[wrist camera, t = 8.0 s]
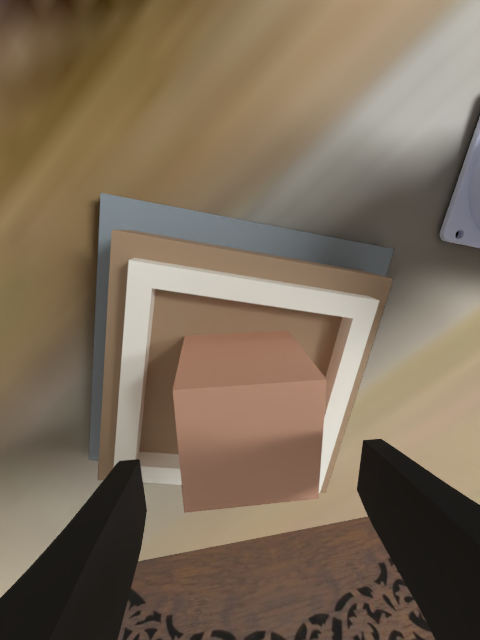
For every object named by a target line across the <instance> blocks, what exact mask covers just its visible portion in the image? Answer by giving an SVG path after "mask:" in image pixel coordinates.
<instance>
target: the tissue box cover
mask: <svg viewBox="0 0 480 640" xmlns="http://www.w3.org/2000/svg"><path fill="white" fill-rule="evenodd" d="M118 640H435V638H434V636H433V634H432V632H431V630H430V628H429V626H428V624H427V622H426V620H425V618H424V616H423V615H422V613H421V611H420V609H419V607H418V605H417V604H416V602H415V600H414V598H413V596H412V595H411V593H410V591H409V589H408V588H407V586H406V584H405V582H404V581H403V579H402V577H401V575H400V574H399V572H398V570H397V568H396V566H395V565H394V563H393V561H392V559H391V558H390V556H389V554H388V552H387V551H386V549H385V547H384V545H383V543H382V542H381V540H380V538H379V536H378V534H377V533H376V531H375V529H374V527H373V525H372V523H371V521H370V519H369V517H364V518H359V519H354V520H349V521H344V522H338V523H333V524H328V525H323V526H318V527H313V528H308V529H303V530H297V531H292V532H287V533H282V534H277V535H272V536H267V537H262V538H256V539H251V540H246V541H241V542H236V543H231V544H226V545H221V546H216V547H210V548H205V549H200V550H195V551H190V552H185V553H180V554H175V555H169V556H164V557H159V558H154V559H149V560H144V561H139V562H137V566H136V570H135V574H134V578H133V582H132V586H131V590H130V594H129V598H128V602H127V606H126V610H125V613H124V617H123V621H122V625H121V629H120V633H119V637H118Z"/></svg>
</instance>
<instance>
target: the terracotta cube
mask: <svg viewBox="0 0 480 640" xmlns="http://www.w3.org/2000/svg"><path fill="white" fill-rule="evenodd" d="M326 385H327V379H326V378H325V376H324V375H323V374H322V373H321V371H320V370H319V369H318V368H317V366H316V365H315V364H314V363H313V361H312V360H311V359H310V358H309V356H308V355H307V354H306V352H305V351H304V350H303V349H302V347H301V346H300V345H299V344H298V342H297V341H296V340H295V339H294V337H293V336H292V335H291V333H290V332H289V331H270V332H251V333H232V334H213V335H194V336H185V337H184V341H183V346H182V350H181V355H180V359H179V364H178V368H177V372H176V377H175V381H174V386H173V400H174V410H175V421H176V431H177V441H178V452H179V462H180V473H181V483H182V493H183V504H184V512H194V511H203V510H213V509H222V508H232V507H241V506H251V505H260V504H270V503H279V502H289V501H298V500H308V499H317V498H318V495H319V481H320V467H321V454H322V440H323V426H324V413H325V399H326Z"/></svg>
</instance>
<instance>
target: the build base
mask: <svg viewBox="0 0 480 640" xmlns="http://www.w3.org/2000/svg"><path fill="white" fill-rule="evenodd" d="M393 252H394V249H392V248H387V247H382V246H376V245H371V244H366V243H361V242H355V241H350V240H345V239H340V238H334V237H329V236H324V235H319V234H314V233H308V232H303V231H298V230H293V229H287V228H282V227H277V226H272V225H266V224H261V223H256V222H251V221H245V220H240V219H235V218H230V217H225V216H219V215H214V214H209V213H204V212H198V211H193V210H188V209H183V208H177V207H172V206H167V205H162V204H156V203H151V202H146V201H141V200H136V199H130V198H125V197H120V196H115V195H109V194H104V193H101V195H100V217H99V239H98V261H97V284H96V306H95V328H94V350H93V373H92V395H91V417H90V439H89V460H99V466H98V480H104V479H105V478H106V477H107V475H108V474H109V473H110V471H111V470H112V469H113V468H114V466H115V465H116V464H117V463H118V462H119V461H124V460H136V459H140V466H141V473H142V480H143V483H157V484H175V485H182V483H181V473H180V462H179V452H178V441H177V431H176V421H175V410H174V400H173V386H174V381H175V377H176V372H177V368H178V364H179V359H180V355H181V350H182V346H183V341H184V337H185V336H194V335H213V334H232V333H251V332H270V331H289V332H290V333H291V335H292V336H293V337H294V339H295V340H296V341H297V342H298V344H299V345H300V346H301V347H302V349H303V350H304V351H305V352H306V354H307V355H308V356H309V358H310V359H311V360H312V361H313V363H314V364H315V365H316V366H317V368H318V369H319V370H320V371H321V373H322V374H323V375H324V376H325V378H326V379H327V385H326V399H325V413H324V426H323V440H322V454H321V467H320V481H319V493H326V490H327V487H328V484H329V481H330V478H331V474H332V471H333V468H334V465H335V462H336V459H337V456H338V452H339V449H340V446H341V443H342V440H343V437H344V433H345V430H346V427H347V424H348V421H349V418H350V414H351V411H352V408H353V405H354V402H355V399H356V396H357V392H358V389H359V386H360V383H361V380H362V377H363V373H364V370H365V367H366V364H367V361H368V358H369V354H370V351H371V348H372V345H373V342H374V339H375V335H376V332H377V329H378V326H379V323H380V320H381V317H382V313H383V310H384V307H385V304H386V301H387V298H388V294H389V291H390V288H391V285H392V282H393V279H392V278H388V277H386V274H387V271H388V268H389V265H390V261H391V258H392V255H393Z"/></svg>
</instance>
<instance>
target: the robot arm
mask: <svg viewBox="0 0 480 640" xmlns="http://www.w3.org/2000/svg"><path fill="white" fill-rule="evenodd" d="M457 231H458V236H457V238H456V237H455V234H456V232H457ZM440 238H441V239H442V240H443V241H445V242H450V243H455V244H460V245H465V246H470V247H475V248H480V117H479V120H478V123H477V126H476V129H475V132H474V135H473V138H472V141H471V144H470V146H469V149H468V152H467V155H466V158H465V161H464V164H463V167H462V170H461V173H460V175H459V178H458V181H457V184H456V187H455V190H454V193H453V196H452V199H451V202H450V205H449V207H448V210H447V213H446V216H445V219H444V222H443V225H442V228H441V231H440ZM357 491H358V493H359V496H360V498H361V500H362V503H363V505H364V508H365V510H366V512H367V514H368V517H369V519H370V521H371V523H372V525H373V527H374V529H375V531H376V533H377V534H378V536H379V538H380V540H381V542H382V543H383V545H384V547H385V549H386V551H387V552H388V554H389V556H390V558H391V559H392V561H393V563H394V565H395V566H396V568H397V570H398V572H399V574H400V575H401V577H402V579H403V581H404V582H405V584H406V586H407V588H408V589H409V591H410V593H411V595H412V596H413V598H414V600H415V602H416V604H417V605H418V607H419V609H420V611H421V613H422V615H423V616H424V618H425V620H426V622H427V624H428V626H429V628H430V630H431V632H432V634H433V636H434V638H435V640H480V505H479V504H477V503H476V502H474V501H472V500H471V499H469V498H468V497H466V496H465V495H463V494H462V493H460V492H459V491H457V490H455V489H454V488H452V487H451V486H449V485H448V484H446V483H445V482H443V481H442V480H441V479H439V478H438V477H436V476H435V475H433V474H432V473H430V472H429V471H427V470H426V469H424V468H423V467H422V466H420V465H419V464H417V463H416V462H414V461H413V460H411V459H410V458H409V457H407V456H406V455H404V454H403V453H401V452H400V451H398V450H397V449H396V448H394V447H393V446H391V445H390V444H388V443H387V442H385V441H383V440H382V439H374V440H363V446H362V454H361V462H360V470H359V478H358V486H357ZM146 512H147V509H146V502H145V495H144V487H143V480H142V473H141V466H140V459H136V460H124V461H119V462H118V463H117V464H116V465H115V466H114V468H113V469H112V470H111V471H110V473H109V474H108V475H107V477H106V478H105V479H104V480H103V482H102V483H101V484H100V486H99V487H98V488H97V489H96V491H95V492H94V493H93V494H92V496H91V497H90V498H89V499H88V501H87V502H86V503H85V504H84V506H83V507H82V508H81V509H80V510H79V512H78V513H77V514H76V515H75V517H74V518H73V519H72V520H71V521H70V523H69V524H68V525H67V526H66V527H65V529H64V530H63V531H62V532H61V533H60V534H59V535H58V537H57V538H56V539H55V540H54V541H53V542H52V543H51V544H50V546H49V547H48V548H47V549H46V550H45V551H44V552H43V553H42V554H41V556H40V557H39V558H38V559H37V560H36V561H35V562H34V563H33V565H32V566H31V567H30V568H29V569H28V570H27V571H26V572H25V573H24V574H23V575H22V576H21V577H20V578H19V579H18V580H17V581H16V583H15V584H14V585H13V586H12V587H11V588H10V589H9V590H8V591H7V592H6V593H5V594H4V595H3V596H2V597H1V598H0V640H118V637H119V633H120V629H121V625H122V621H123V617H124V613H125V610H126V606H127V602H128V598H129V594H130V590H131V586H132V582H133V578H134V574H135V570H136V566H137V562H138V558H139V554H140V550H141V545H142V539H143V532H144V526H145V519H146Z"/></svg>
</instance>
